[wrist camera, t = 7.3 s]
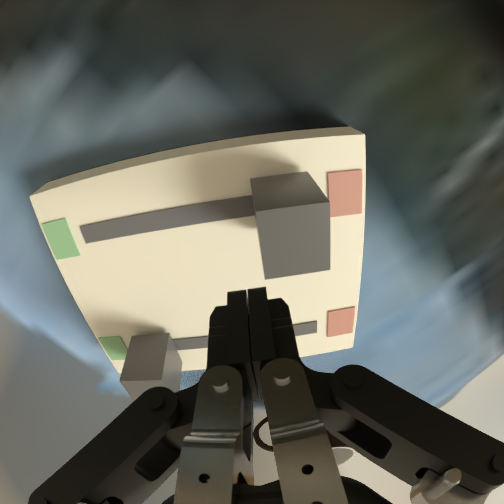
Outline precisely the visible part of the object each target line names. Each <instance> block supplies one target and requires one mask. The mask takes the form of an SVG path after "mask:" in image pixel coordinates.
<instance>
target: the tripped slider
mask: <svg viewBox="0 0 504 504" xmlns="http://www.w3.org/2000/svg"><path fill="white" fill-rule="evenodd" d="M250 183H251V191H252V198H253V205H254V212H255V219H256V226H257V233H258V240H259V246H260V252H261V259H262V265H263V271H264V277H265V280H267V279H274V278H281V277H287V276H294V275H301V274H307V273H314V272H320V271H326V270H330V250H331V243H330V201H329V200H328V199H327V197H326V196H325V194H324V193H323V192H322V190H321V189H320V188H319V186H318V185H317V184H316V182H315V181H314V179H313V178H312V177H311V175H310V174H309V173H308V171H305V172H297V173H288V174H280V175H272V176H265V177H257V178H250Z"/></svg>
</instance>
